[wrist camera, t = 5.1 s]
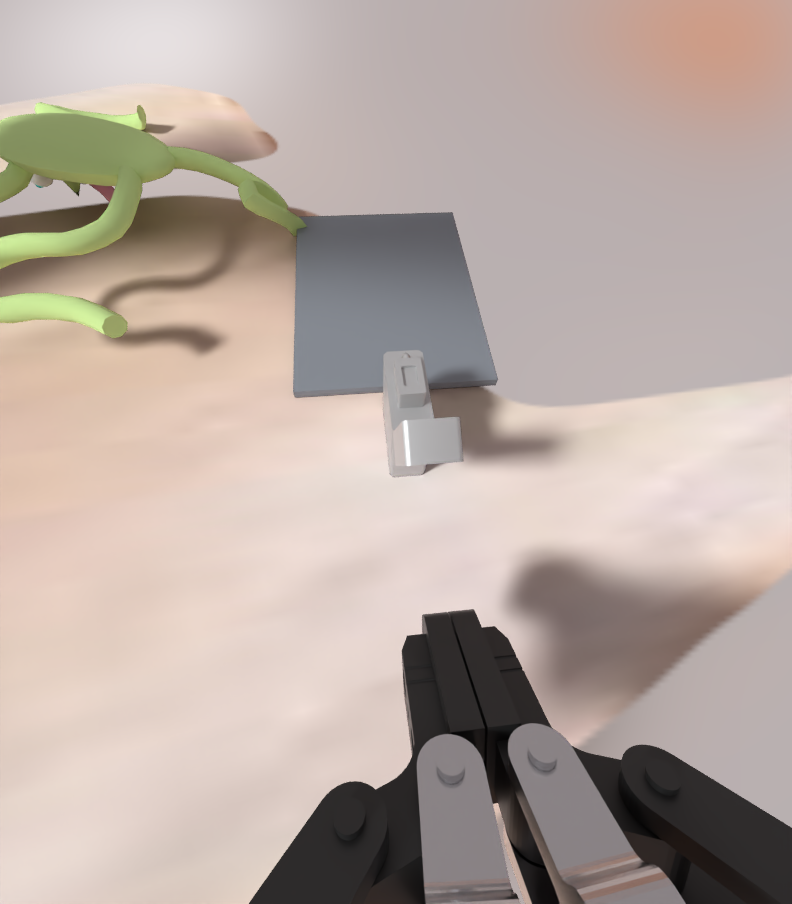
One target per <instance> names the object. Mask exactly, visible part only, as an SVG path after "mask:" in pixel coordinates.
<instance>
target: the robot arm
mask: <svg viewBox="0 0 792 904" xmlns="http://www.w3.org/2000/svg"><path fill="white" fill-rule="evenodd" d="M422 632H423V634H420V635H410V636H407V638H406V641H405V643H404V646H403V649H402V663H403V682H404V696H405V704H406V711H407V719H408V726H409V735H410V743H411V750H412V758H411V760H410V763H409V764H408V766H407V768H406V769H405V770H404V771H403V772H402V773H401V774H400V775H399V776H398V777H397V778H395V779H394V780H392V781H391V782H389V783H387V784H385V785H383V786H382V787H380V788H378V789H376V790H375V789H374V788H373V787H372V786H370V785H368V784H366V783H363V782H356V781H355V782H347V783H343V784H341V785H339V786H337V787H336V788H334V789H333V790H331V791H330V792H329V793H328V794H327V795H326V796H325V797H324V799H323V800H322V801H321V803H320V804H319V805H318V807H317V808H316V810H315V811H314V812H313V814H312V815H311V817H310V818H309V819H308V821H307V822H306V824H305V825H304V826H303V828H302V829H301V831H300V832H299V834H298V835H297V836H296V838H295V839H294V841H293V842H292V843H291V845H290V846H289V848H288V849H287V850H286V852H285V853H284V855H283V856H282V857H281V859H280V860H279V862H278V863H277V864H276V866H275V867H274V869H273V870H272V872H271V873H270V874H269V876H268V877H267V879H266V880H265V881H264V883H263V884H262V886H261V887H260V888H259V890H258V891H257V893H256V894H255V895H254V897H253V898H252V900H251V901H250V903H249V904H520V901H519V899H518V896H517V894H516V893H514V892H513V890H512V888H511V884H510V880H509V876H508V872H507V867H506V863H505V858H504V854H503V849H502V844H501V840H500V835H499V830H498V826H497V821H496V817H495V812H494V808H493V804H494V803H498V804H499V807H500V811H501V814H502V818H503V821H504V843H505V847H506V850H507V854H508V856H509V859H510V862H511V865H512V868H513V870H514V873H515V876H516V879H517V882H518V885H519V888H520V891H521V893H522V897H523V900H524V902H525V904H792V828H791V827H789V826H788V825H786V824H784V823H783V822H781V821H780V820H778V819H776V818H775V817H773V816H772V815H770V814H768V813H767V812H765V811H763V810H762V809H760V808H758V807H757V806H755V805H753V804H752V803H750V802H749V801H747V800H745V799H744V798H742V797H741V796H739V795H737V794H735V793H734V792H732V791H731V790H729V789H727V788H726V787H724V786H723V785H721V784H719V783H718V782H716V781H714V780H713V779H711V778H710V777H708V776H706V775H705V774H703V773H701V772H700V771H698V770H696V769H695V768H693V767H691V766H690V765H688V764H687V763H685V762H683V761H682V760H680V759H678V758H677V757H675V756H674V755H672V754H670V753H668V752H666V751H665V750H662V749H660V748H657V747H654V746H649V745H636V746H633V747H631V748H629V749H628V750H626V752H625V753H624V754H623V757H622V760H618V759H613V758H609V757H604V756H599V755H594V754H590V753H586V752H584V751H581V750H579V749H577V748H575V747H573V746H571V745H570V743H569V742H568V741H567V740H566V739H565V738H564V737H563V736H562V735H561V734H560V733H558V732H557V731H556V730H554V729H553V728H552V727H551V725H550V724H549V722H548V720H547V718H546V716H545V714H544V712H543V710H542V708H541V706H540V704H539V702H538V699H537V697H536V695H535V693H534V691H533V689H532V687H531V685H530V683H529V681H528V679H527V677H526V675H525V673H524V671H523V670H522V667H521V664H520V662H519V660H518V658H516V654H515V652H514V650H513V648H512V646H511V644H510V642H509V640H508V638H507V637H505V636H504V635H503V634H502V633H501V632H500V631H499V630H498V629H497V628H496V627H495V626H493V627H484V628H482V627H481V625H480V622H479V620H478V618H477V615H476V613H475V611H474V610H473V609H471V610H462V611H452V612H448V613H447V612H444V613H434V614H424V615H422Z"/></svg>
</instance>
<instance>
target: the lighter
mask: <svg viewBox="0 0 792 904" xmlns="http://www.w3.org/2000/svg"><path fill="white" fill-rule="evenodd" d="M383 416H384V425H385V434H386V444H387V453H388V462H389V472H390V475H391V476H393V477H402V476H415V475H422V474H423V473H424V472H425V469H426V464H438V463H450V462H462V461H463V450H462V438H461V426H460V417H446V418H434V414H433V409H432V403H431V397H430V392H429V386H428V380H427V374H426V369H425V363H424V357H423V353H422V352H421V351H419V350H408V351H390V352H386V353H385V354H384V356H383Z"/></svg>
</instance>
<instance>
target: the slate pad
mask: <svg viewBox="0 0 792 904" xmlns="http://www.w3.org/2000/svg"><path fill="white" fill-rule="evenodd" d="M299 218H300V219H302V221H303V222H304V223H305V224H306V226H307V227H304V228H300V229H297V245H296V290H295V335H294V380H293V393H294V396H295V397H312V396H328V395H344V394H360V393H376V392H383V356H384V354H385V353H386V352H390V351H408V350H419V351H421V352H422V353H423V357H424V363H425V369H426V374H427V380H428V386H429V389H440V388H456V387H472V386H488V385H496V382H497V380H498V378H497V374H496V371H495V367H494V363H493V360H492V356H491V353H490V349H489V345H488V342H487V338H486V334H485V331H484V327H483V323H482V320H481V316H480V312H479V308H478V305H477V301H476V297H475V294H474V290H473V286H472V282H471V279H470V275H469V271H468V268H467V264H466V260H465V257H464V253H463V250H462V246H461V242H460V238H459V235H458V231H457V228H456V224H455V220H454V217H453V213H452V212H451V213H417V214H383V215H381V214H380V215H348V216H347V215H346V216H311V217H299Z"/></svg>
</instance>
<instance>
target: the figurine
mask: <svg viewBox="0 0 792 904" xmlns="http://www.w3.org/2000/svg"><path fill="white" fill-rule="evenodd" d="M35 112H36V114H26V115H19V116H12V117H8V118H5V119H3V120H1V121H0V157H1V158H2V159H4V160H5V161H7V162H8V163H9V164H8V166H7V168H6V170H4V171H3V172H1V173H0V203H1V202H3V201H5V200H7V199H9V198H10V197H12V196H14V195H16V194H17V193H19V192H21V191H22V190H23V189H25V188H26V187H27V186H28V184H29V182H30V181H31V182H33V183H34V184H35V185H36V186H37V187H39V188H42V187H47V186H49V185H51V184H52V182H53V179H55V180H63V181H64V182H65V183H66V184H67V185H68V186H69V187H70V188H71V189H72V190H73V191H74V192H75V193H76V195H78V196H79V191H80V183H82V184H89V185H91V186H92V187H93V188H95V189H96V190H97V191H99V192H100V193H101V194H102V195H103V196H104V197H105V198H106V199H107V200H108V201H109V202H110V203H109V205H108V207H107V209H106V210H105V212H104V213H103V214H102V215H101V217H100V218H99V219H98V220H96V221H94V222H92V223H90V224H88V225H86V226H84V227H82V228H78V229H74V230H71V231H67V232H63V233H20V234H13V235H7V236H4V237H1V238H0V269H2V268H4V267H6V266H8V265H11V264H13V263H17V262H20V261H24V260H27V259H33V258H40V257H63V256H74V255H85V254H87V253H90V252H93V251H96V250H98V249H101V248H104V247H106V246H108V245H110V244H111V243H113V242H115V241H116V240H118V239H120V238H121V237H123V235H124V234H125V233H126V231H127V230H128V228H129V227H130V226H131V224H132V222H133V219H134V217H135V214H136V211H137V208H138V204H139V201H140V197H141V193H142V183H146V182H150V181H153V180H156V179H159V178H162V177H164V176H166V175H168V174H169V173H171V172H172V170H173V169H174V168H178V169H186V170H192V171H198V172H201V173H204V174H207V175H211V176H214V177H217V178H219V179H221V180H224V181H226V182H229V183H231V184H233V185H235V186H238V187H239V188H238V192H239V196H240V198H241V200H242V202H243V205H244V207H245V208H247V209H248V210H250V211H252V212H253V213H255V214H257V215H259V216H261V217H264V218H266V219H269V220H271V221H274V222H276V223H278V224H280V225H282V226H283V227H285V228H287V229H288V230H289V231H290V233H291V234H292V235H293V236H297V229H300V228H304V227H307V226H306V224H305V223H304V222H303V221H302V219H300V218H299V217H298V216H296V215H295V214H293V213H291V212H290V211H288V210H287V207H288V205H287V204H286V202H285V201H284V199H283V198H282V197H281V196H280V195H279V194H278V193H277V192H276V191H275V190H274V189H273V188H272V187H270V186H269V185H268V184H267V183H266V182H264V181H263V180H261V179H259V178H258V177H256V176H255V175H253V174H252V173H249V172H248V171H246V170H244V169H242V168H240V167H238V166H236V165H234V164H232V163H230V162H228V161H225V160H223V159H221V158H218V157H216V156H213V155H210V154H207V153H204V152H201V151H196V150H192V149H188V148H182V147H169V146H168V147H167V146H166V145H165V144H164V143H163V142H161V141H159V140H158V139H156V138H155V137H153V136H152V135H150V134H149V133H147V132H144V131H142V130H144V129H145V127H146V114H145V112H144V109H143V108H142V107H141V106H140V105H138V106H137V113H135V114H130V115H107V114H101V113H93V112H85V111H78V110H72V109H68V108H64V107H60V106H55V105H49V104H45V103H42V102H40V103H37V104H36V106H35ZM112 186H116V187H115V189H114V188H113V187H112ZM29 320H62V321H70V322H77V323H80V324H82V325H85V326H88V327H90V328H93V329H95V330H97V331H99V332H101V333H103V334H105V335H107V336H109V337H111V338H117V337H122V336H123V334H124V333H125V332H126V331H127V321H126V320H125V319H124V318H123V317H122V316H121V315H119V314H117V313H115V312H113V311H111V310H109V309H107V308H105V307H103V306H101V305H98V304H96V303H93V302H90V301H88V300H85V299H83V298H77V297H71V296H64V295H58V294H51V293H22V294H16V295H11V296H5V297H0V323H17V322H23V321H29Z"/></svg>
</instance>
